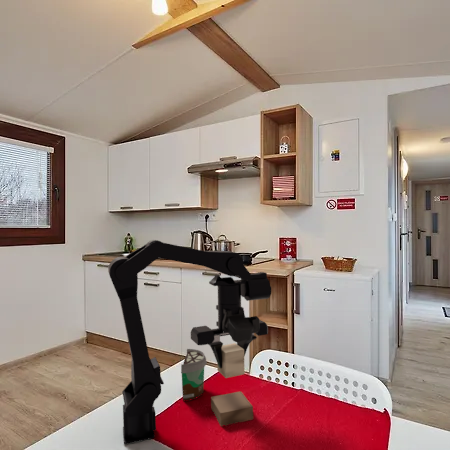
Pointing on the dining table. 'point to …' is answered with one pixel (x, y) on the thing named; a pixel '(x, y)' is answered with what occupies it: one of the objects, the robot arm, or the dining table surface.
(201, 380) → the food container
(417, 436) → the dining table surface
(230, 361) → the birch block
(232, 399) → the walnut base
